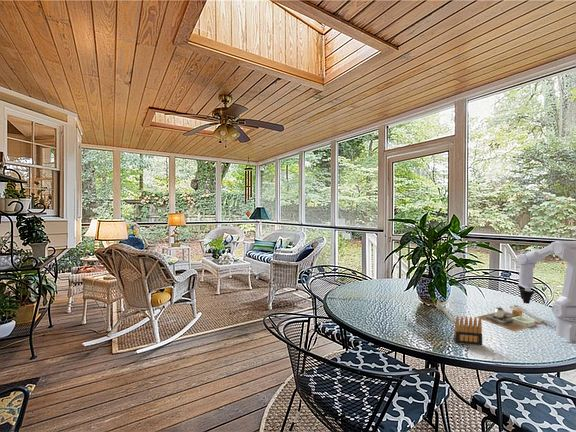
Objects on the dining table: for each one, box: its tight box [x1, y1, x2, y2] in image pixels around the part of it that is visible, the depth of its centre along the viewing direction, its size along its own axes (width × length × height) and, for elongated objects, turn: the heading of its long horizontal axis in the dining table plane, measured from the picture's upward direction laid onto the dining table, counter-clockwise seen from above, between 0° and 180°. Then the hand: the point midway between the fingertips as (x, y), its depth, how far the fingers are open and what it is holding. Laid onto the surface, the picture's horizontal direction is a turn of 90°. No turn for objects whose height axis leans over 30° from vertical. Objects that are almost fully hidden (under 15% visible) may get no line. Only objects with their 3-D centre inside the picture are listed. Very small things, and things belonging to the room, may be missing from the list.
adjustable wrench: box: [509, 304, 548, 326], centre depth 157 cm, size 25×6×2 cm, turn 169°
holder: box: [476, 310, 544, 333], centre depth 148 cm, size 18×23×3 cm
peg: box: [494, 306, 505, 320], centre depth 147 cm, size 4×4×7 cm
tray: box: [511, 316, 536, 328], centre depth 144 cm, size 7×7×2 cm
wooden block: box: [504, 308, 523, 318], centre depth 151 cm, size 3×10×3 cm, turn 113°
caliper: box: [436, 299, 456, 325], centre depth 156 cm, size 20×1×6 cm, turn 175°
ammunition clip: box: [453, 315, 483, 346], centre depth 126 cm, size 11×2×12 cm, turn 77°
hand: (525, 301), depth 155 cm, fingers open, 7 cm apart
